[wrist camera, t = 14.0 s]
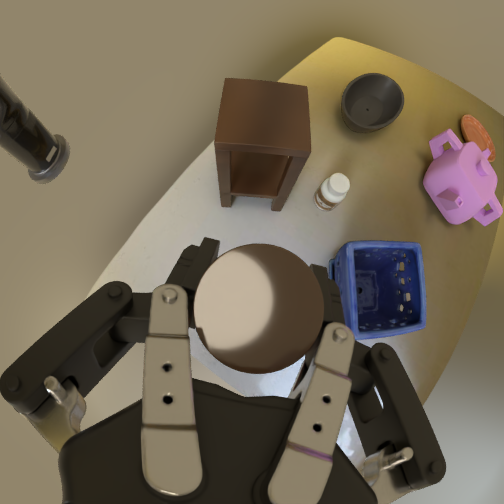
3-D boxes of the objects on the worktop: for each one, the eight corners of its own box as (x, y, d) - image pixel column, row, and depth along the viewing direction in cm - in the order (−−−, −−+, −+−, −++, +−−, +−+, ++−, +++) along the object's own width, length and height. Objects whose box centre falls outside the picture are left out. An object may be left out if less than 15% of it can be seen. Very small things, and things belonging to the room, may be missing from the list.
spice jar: (209, 338, 16) (189, 369, 8) (213, 267, 17) (198, 238, 9) (280, 342, 16) (319, 374, 9) (284, 272, 17) (326, 248, 9)
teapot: (419, 223, 48) (468, 200, 33) (408, 148, 51) (444, 113, 36) (473, 234, 49) (517, 219, 34) (461, 167, 52) (498, 142, 37)
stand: (221, 206, 46) (214, 142, 26) (226, 155, 47) (225, 77, 28) (280, 211, 46) (311, 151, 27) (281, 160, 48) (307, 86, 28)
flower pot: (384, 253, 46) (423, 239, 35) (388, 325, 44) (428, 329, 32) (318, 254, 45) (345, 239, 34) (321, 333, 43) (350, 343, 31)
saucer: (496, 162, 55) (501, 159, 52) (475, 167, 53) (481, 163, 50) (473, 119, 57) (478, 114, 54) (448, 118, 55) (454, 113, 52)
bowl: (401, 110, 53) (413, 96, 47) (364, 157, 50) (377, 142, 43) (363, 80, 54) (372, 64, 48) (317, 120, 50) (326, 101, 44)
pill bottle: (308, 200, 47) (321, 182, 39) (322, 184, 48) (336, 165, 40) (327, 216, 47) (343, 201, 39) (340, 200, 47) (357, 183, 40)
